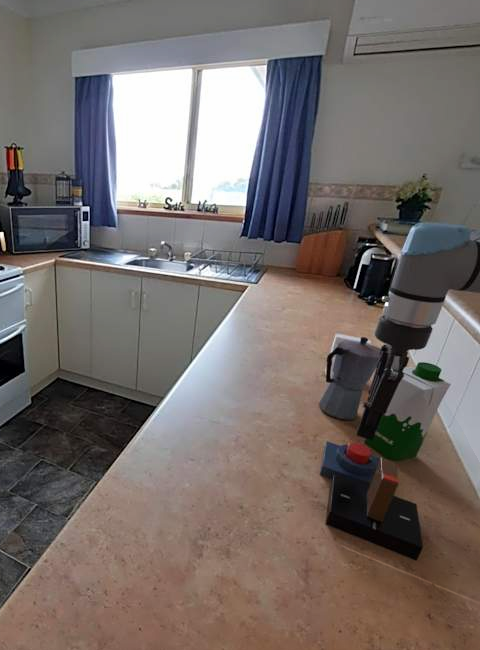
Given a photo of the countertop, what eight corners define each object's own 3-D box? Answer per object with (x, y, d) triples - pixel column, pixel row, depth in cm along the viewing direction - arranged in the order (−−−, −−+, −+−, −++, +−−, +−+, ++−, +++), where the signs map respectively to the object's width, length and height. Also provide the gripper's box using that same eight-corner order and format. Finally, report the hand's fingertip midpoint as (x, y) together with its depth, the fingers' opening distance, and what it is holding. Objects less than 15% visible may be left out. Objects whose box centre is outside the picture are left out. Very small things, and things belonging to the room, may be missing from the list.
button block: (382, 468, 80) (388, 453, 79) (383, 497, 73) (390, 481, 71) (323, 449, 85) (328, 434, 83) (319, 474, 78) (324, 458, 76)
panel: (410, 516, 69) (416, 502, 68) (416, 561, 61) (423, 547, 60) (329, 486, 75) (334, 473, 74) (325, 524, 67) (330, 511, 65)
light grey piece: (357, 372, 119) (369, 336, 114) (359, 386, 111) (372, 347, 106) (324, 365, 122) (335, 329, 117) (324, 378, 114) (335, 340, 109)
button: (368, 455, 78) (371, 447, 77) (368, 467, 75) (371, 458, 74) (345, 448, 80) (348, 439, 79) (345, 459, 77) (347, 451, 76)
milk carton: (423, 458, 84) (460, 375, 76) (393, 467, 81) (428, 382, 73) (385, 433, 91) (416, 355, 83) (356, 440, 88) (385, 361, 80)
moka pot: (375, 416, 98) (402, 342, 89) (328, 428, 92) (353, 350, 84) (343, 396, 106) (365, 327, 97) (298, 406, 100) (318, 333, 92)
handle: (366, 493, 70) (381, 456, 66) (381, 498, 69) (396, 460, 65) (366, 516, 65) (382, 477, 61) (382, 522, 64) (399, 483, 60)
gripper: (379, 305, 73) (344, 413, 82) (381, 327, 62) (340, 447, 72) (428, 313, 69) (385, 424, 79) (439, 338, 59) (388, 463, 69)
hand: (364, 435), depth 75 cm, fingers closed
